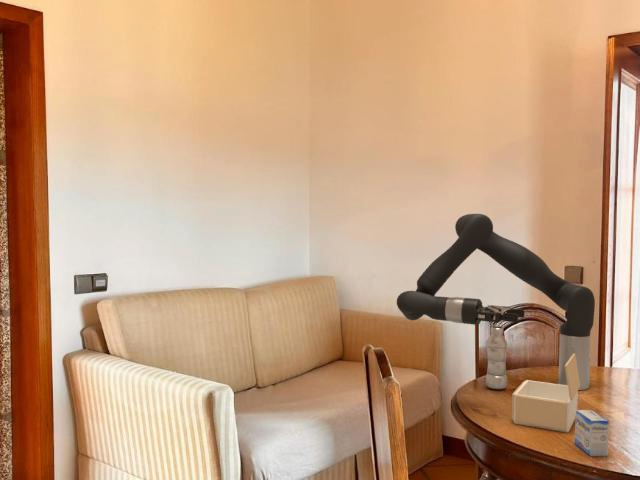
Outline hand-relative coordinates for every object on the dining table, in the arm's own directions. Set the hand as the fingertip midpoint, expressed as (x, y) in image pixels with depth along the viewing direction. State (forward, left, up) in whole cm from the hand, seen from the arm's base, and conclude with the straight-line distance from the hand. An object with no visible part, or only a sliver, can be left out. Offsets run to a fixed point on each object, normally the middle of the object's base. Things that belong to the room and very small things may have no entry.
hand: (521, 316), depth 177 cm
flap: (-5, +13, -15) cm, 20 cm away
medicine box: (+8, +26, -28) cm, 39 cm away
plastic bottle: (-16, -19, -28) cm, 38 cm away
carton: (-3, +7, -28) cm, 29 cm away
